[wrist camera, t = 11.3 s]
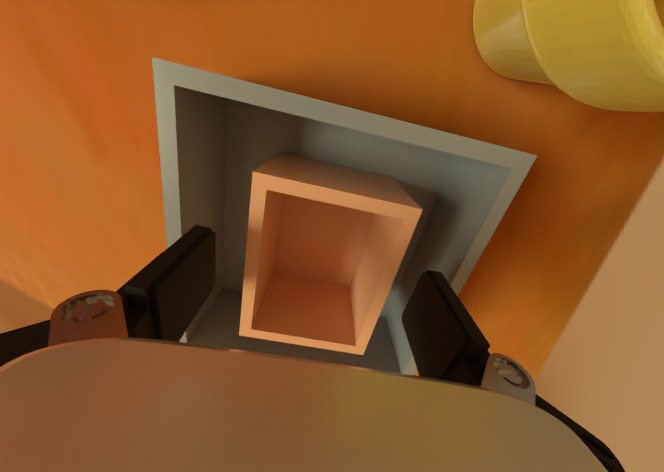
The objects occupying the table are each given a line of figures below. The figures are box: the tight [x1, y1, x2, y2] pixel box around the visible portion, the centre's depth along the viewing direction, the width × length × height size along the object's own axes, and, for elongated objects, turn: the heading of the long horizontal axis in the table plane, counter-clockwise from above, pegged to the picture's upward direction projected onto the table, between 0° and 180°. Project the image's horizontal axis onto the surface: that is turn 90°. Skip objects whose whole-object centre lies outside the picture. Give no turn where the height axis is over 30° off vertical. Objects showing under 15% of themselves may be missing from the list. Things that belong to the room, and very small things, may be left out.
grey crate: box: [152, 57, 538, 375], centre depth 15 cm, size 15×15×6 cm
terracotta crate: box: [239, 152, 423, 355], centre depth 14 cm, size 9×7×6 cm
